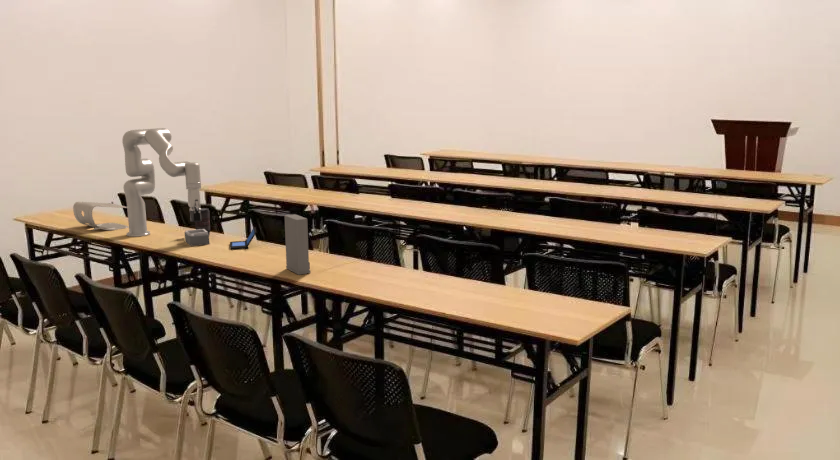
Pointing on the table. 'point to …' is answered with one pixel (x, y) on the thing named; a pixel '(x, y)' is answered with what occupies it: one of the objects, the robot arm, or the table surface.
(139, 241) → the table surface
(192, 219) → the ringed metal cylinder
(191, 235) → the camera body block
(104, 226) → the portable electronic device stand
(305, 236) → the tall grey upright pillar
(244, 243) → the game console
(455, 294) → the table surface
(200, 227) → the camera lens
